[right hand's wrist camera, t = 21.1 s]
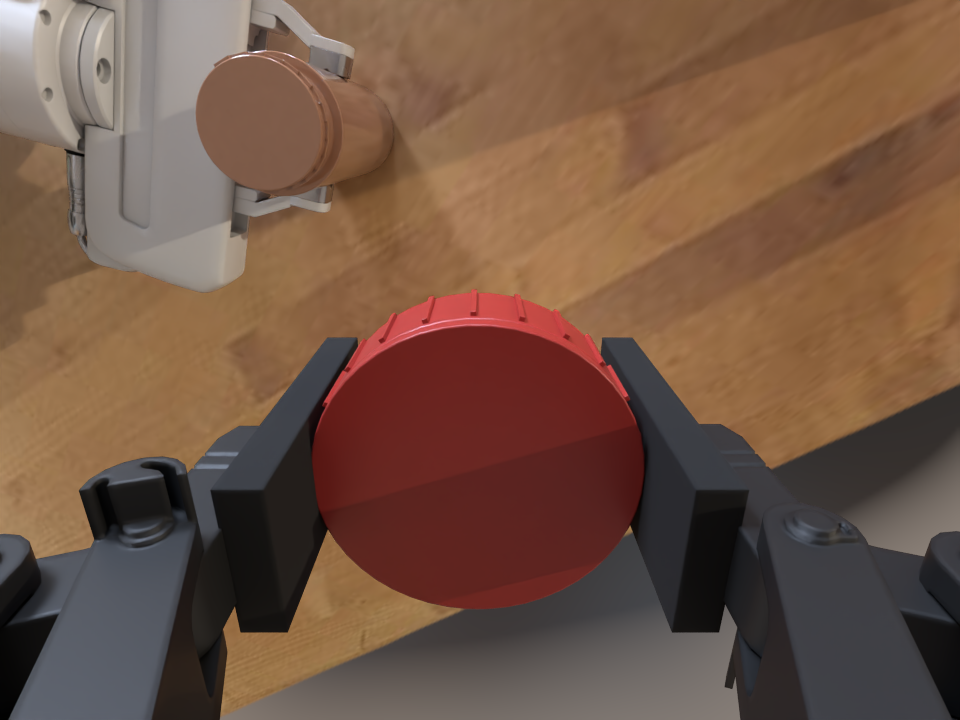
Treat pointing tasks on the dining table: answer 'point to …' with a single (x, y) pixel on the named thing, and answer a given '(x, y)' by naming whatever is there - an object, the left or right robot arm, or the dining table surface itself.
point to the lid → (477, 453)
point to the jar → (289, 124)
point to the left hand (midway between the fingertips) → (340, 132)
